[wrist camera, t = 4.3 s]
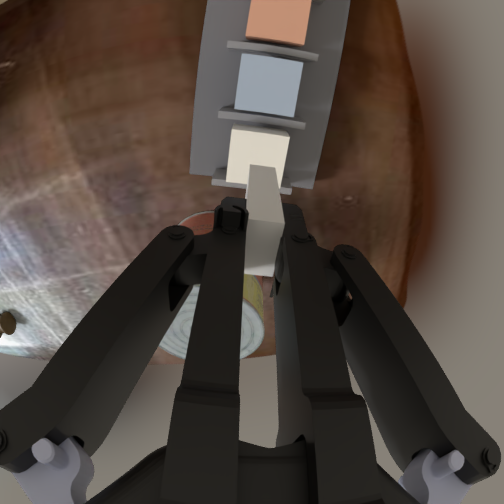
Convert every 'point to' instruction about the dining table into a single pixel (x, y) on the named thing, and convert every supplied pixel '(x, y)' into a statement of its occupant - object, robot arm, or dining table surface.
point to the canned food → (182, 323)
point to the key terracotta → (278, 21)
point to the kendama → (7, 324)
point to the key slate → (268, 85)
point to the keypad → (224, 115)
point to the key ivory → (256, 151)
